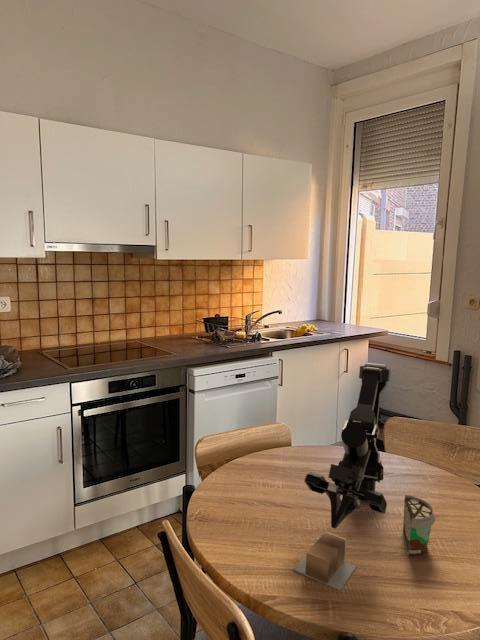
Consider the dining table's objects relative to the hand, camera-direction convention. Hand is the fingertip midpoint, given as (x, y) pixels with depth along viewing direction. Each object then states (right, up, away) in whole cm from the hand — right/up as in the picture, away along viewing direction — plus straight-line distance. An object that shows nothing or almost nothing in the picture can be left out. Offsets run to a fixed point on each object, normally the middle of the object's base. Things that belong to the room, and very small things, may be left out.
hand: (333, 527), depth 107 cm
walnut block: (+1, -5, +2) cm, 6 cm away
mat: (-2, -8, -2) cm, 9 cm away
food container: (+22, -8, +8) cm, 25 cm away
